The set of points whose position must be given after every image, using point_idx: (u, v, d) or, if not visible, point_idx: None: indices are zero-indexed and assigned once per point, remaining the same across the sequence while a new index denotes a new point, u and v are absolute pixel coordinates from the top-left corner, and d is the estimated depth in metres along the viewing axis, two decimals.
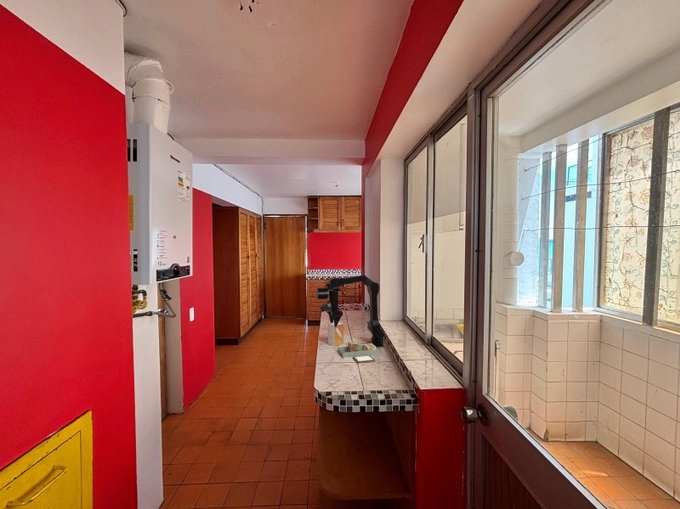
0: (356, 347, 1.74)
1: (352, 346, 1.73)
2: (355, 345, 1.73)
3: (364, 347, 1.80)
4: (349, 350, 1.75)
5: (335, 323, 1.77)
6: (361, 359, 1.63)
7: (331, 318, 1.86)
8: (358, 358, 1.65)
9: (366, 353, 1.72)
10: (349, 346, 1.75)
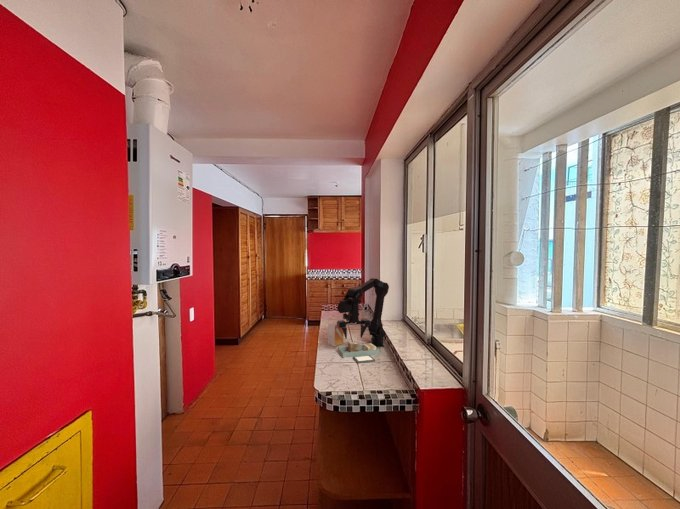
0: (356, 347, 1.74)
1: (352, 346, 1.73)
2: (355, 345, 1.73)
3: (364, 347, 1.79)
4: (349, 350, 1.75)
5: (344, 334, 1.74)
6: (361, 359, 1.63)
7: (361, 332, 1.77)
8: (358, 358, 1.65)
9: (366, 353, 1.72)
10: (349, 346, 1.75)
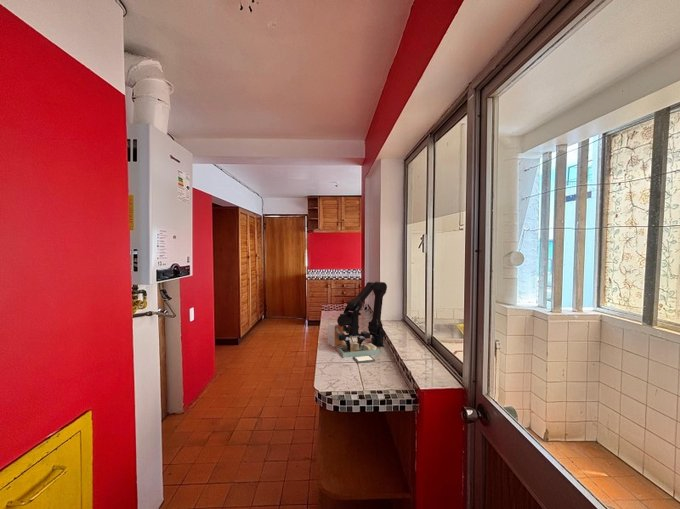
0: (356, 347, 1.74)
1: (352, 346, 1.73)
2: (355, 345, 1.73)
3: (364, 347, 1.79)
4: None
5: (347, 347, 1.75)
6: (361, 359, 1.63)
7: None
8: (358, 358, 1.65)
9: (366, 353, 1.72)
10: None
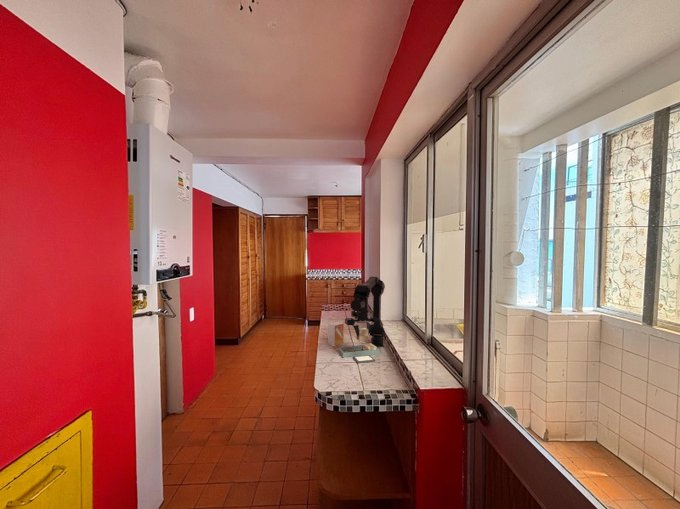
0: (365, 333, 1.64)
1: (361, 331, 1.63)
2: (364, 330, 1.64)
3: (364, 347, 1.79)
4: (358, 336, 1.65)
5: (356, 333, 1.65)
6: (361, 359, 1.63)
7: None
8: (358, 358, 1.65)
9: (366, 353, 1.72)
10: None
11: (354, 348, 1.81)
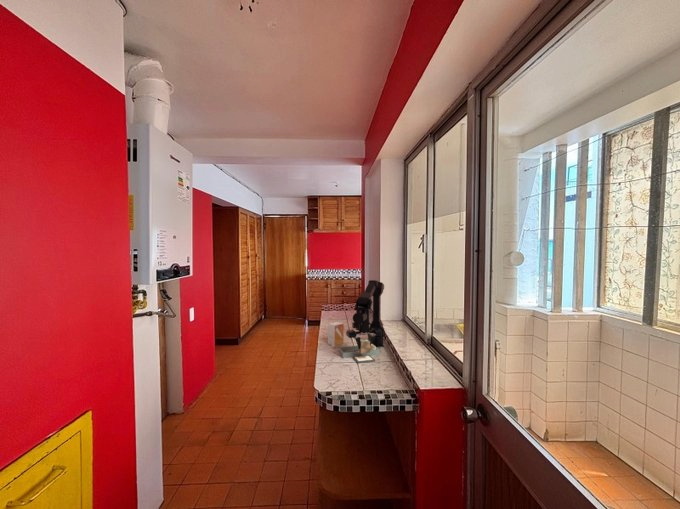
0: (367, 345, 1.63)
1: (363, 344, 1.62)
2: (366, 342, 1.63)
3: None
4: None
5: None
6: (361, 359, 1.63)
7: None
8: (358, 358, 1.65)
9: (366, 353, 1.72)
10: None
11: (354, 348, 1.81)
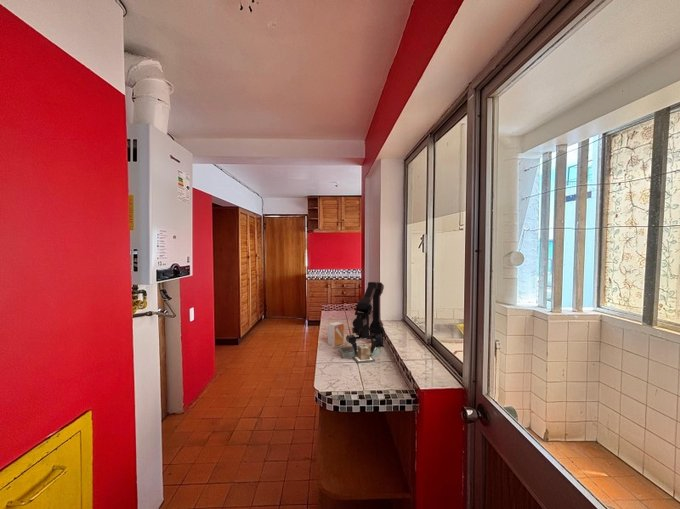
0: (367, 351, 1.63)
1: (363, 350, 1.62)
2: (366, 349, 1.63)
3: None
4: (359, 355, 1.64)
5: (354, 350, 1.64)
6: None
7: (371, 347, 1.67)
8: (358, 358, 1.65)
9: None
10: (359, 350, 1.64)
11: None
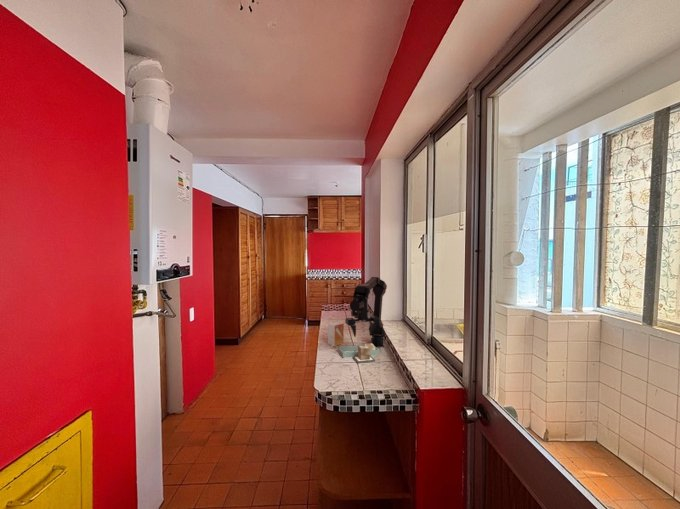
0: (367, 351, 1.63)
1: (363, 350, 1.62)
2: (366, 349, 1.63)
3: None
4: (359, 355, 1.64)
5: (353, 332, 1.69)
6: None
7: (370, 329, 1.72)
8: (358, 358, 1.65)
9: None
10: (359, 350, 1.64)
11: (354, 348, 1.81)
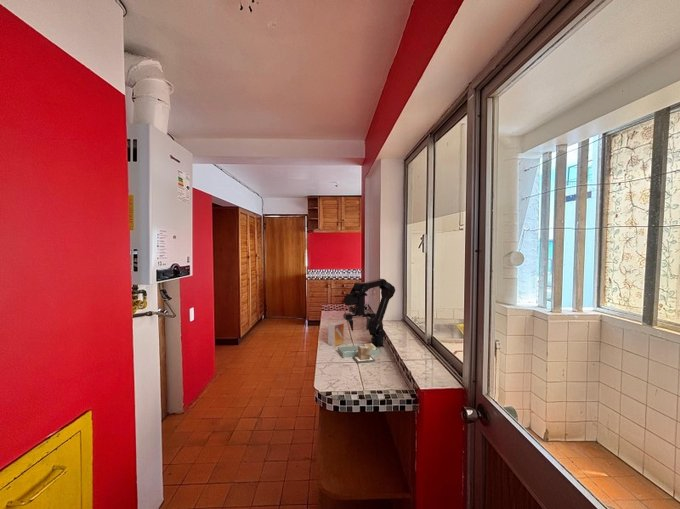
0: (367, 351, 1.63)
1: (363, 350, 1.62)
2: (366, 349, 1.63)
3: None
4: (359, 355, 1.64)
5: None
6: None
7: (366, 325, 1.82)
8: (358, 358, 1.65)
9: None
10: (359, 350, 1.64)
11: (354, 348, 1.81)
